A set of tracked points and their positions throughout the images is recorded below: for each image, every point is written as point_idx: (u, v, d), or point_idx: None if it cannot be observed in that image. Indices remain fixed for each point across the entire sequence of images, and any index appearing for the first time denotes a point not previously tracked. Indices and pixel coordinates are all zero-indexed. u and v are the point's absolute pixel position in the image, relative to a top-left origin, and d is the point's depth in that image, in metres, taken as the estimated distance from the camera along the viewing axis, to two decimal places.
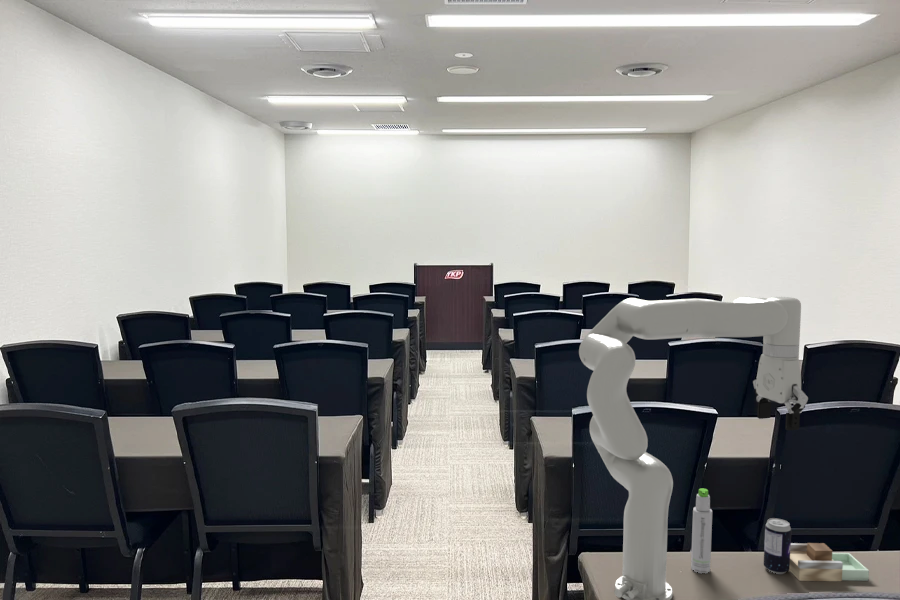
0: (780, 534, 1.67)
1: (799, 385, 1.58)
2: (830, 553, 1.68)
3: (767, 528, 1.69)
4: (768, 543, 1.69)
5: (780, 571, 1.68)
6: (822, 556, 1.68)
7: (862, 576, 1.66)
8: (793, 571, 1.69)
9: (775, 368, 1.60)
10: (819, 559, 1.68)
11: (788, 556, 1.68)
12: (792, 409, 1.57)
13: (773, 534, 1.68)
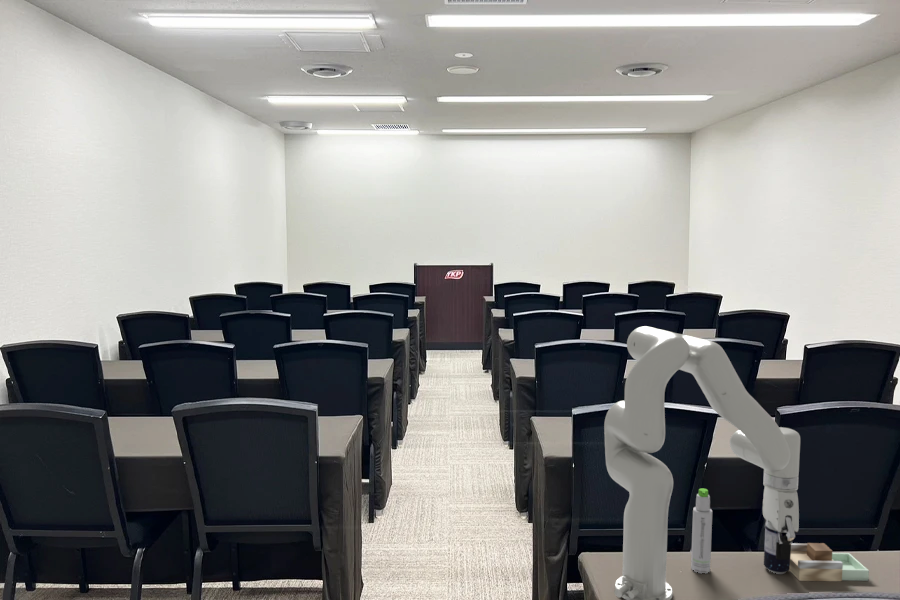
0: None
1: None
2: (830, 553, 1.68)
3: (767, 528, 1.69)
4: (768, 543, 1.69)
5: (780, 571, 1.68)
6: (822, 556, 1.68)
7: (862, 576, 1.66)
8: (793, 571, 1.69)
9: None
10: (819, 559, 1.68)
11: None
12: None
13: (774, 534, 1.68)
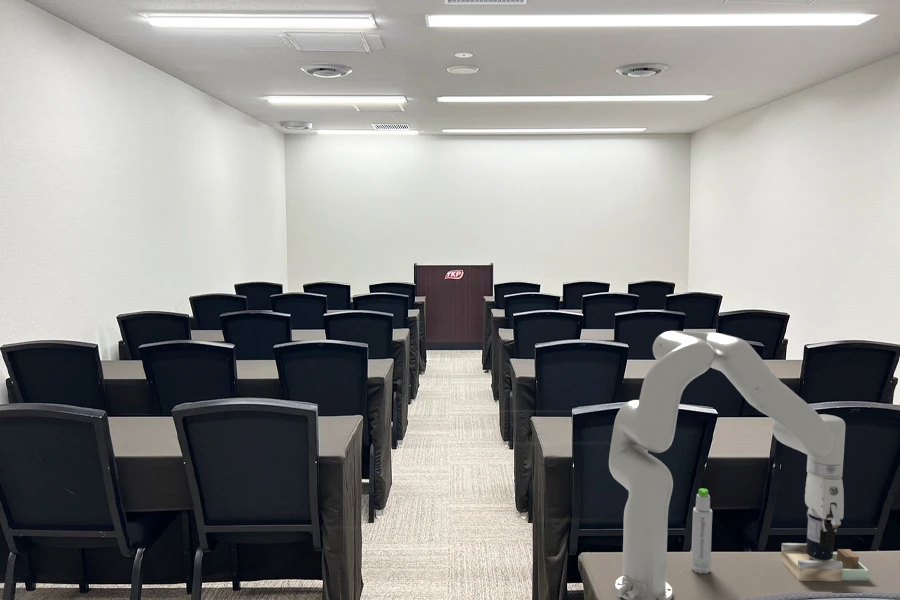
0: None
1: None
2: None
3: (811, 515, 1.69)
4: (812, 530, 1.68)
5: (824, 559, 1.67)
6: (852, 563, 1.68)
7: (862, 576, 1.66)
8: (793, 571, 1.69)
9: None
10: (848, 561, 1.68)
11: None
12: None
13: (818, 521, 1.67)
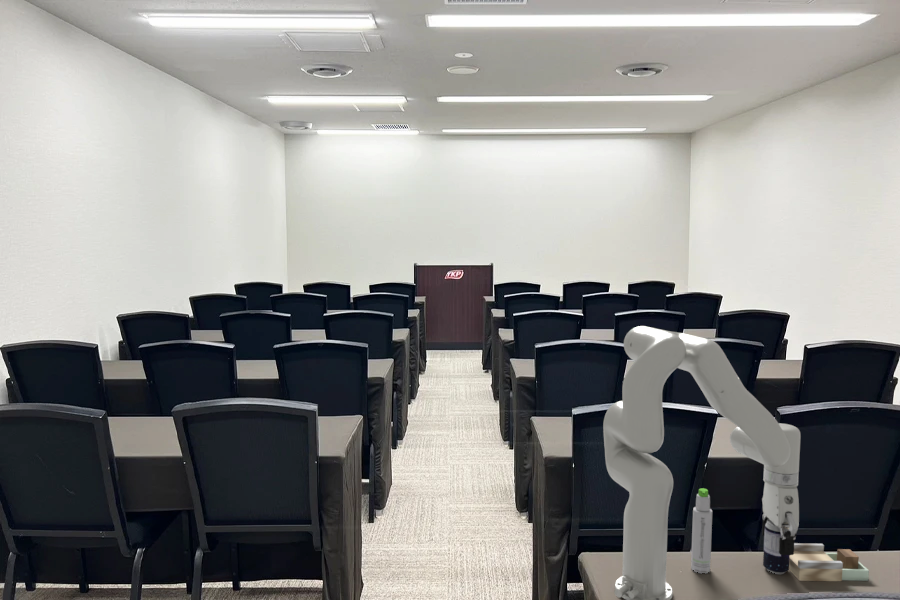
0: (779, 534, 1.67)
1: None
2: None
3: (766, 528, 1.69)
4: (768, 543, 1.69)
5: (780, 571, 1.68)
6: (852, 563, 1.68)
7: (862, 576, 1.66)
8: (793, 571, 1.69)
9: None
10: (848, 561, 1.68)
11: (787, 556, 1.68)
12: None
13: (773, 534, 1.68)
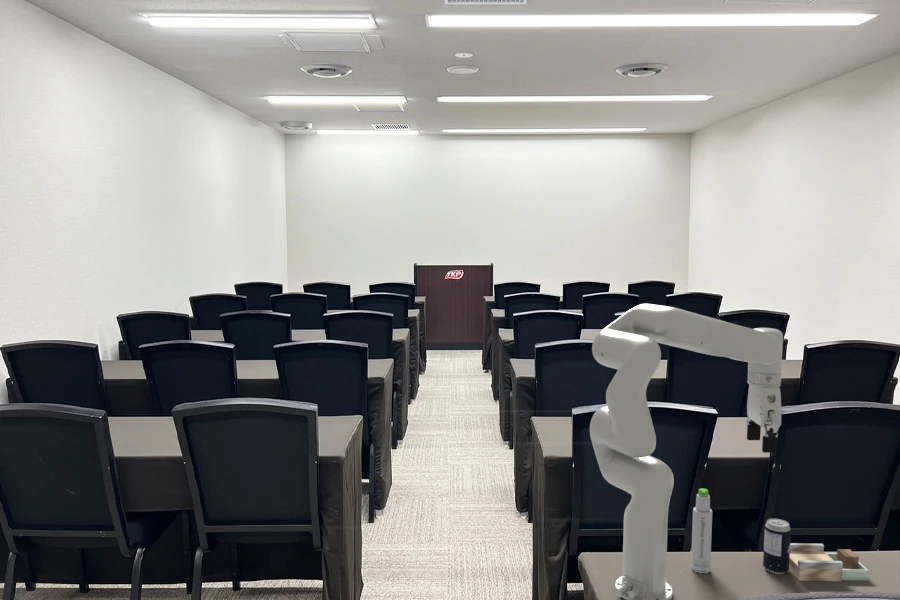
0: (780, 534, 1.67)
1: None
2: None
3: (766, 528, 1.69)
4: (768, 543, 1.69)
5: (780, 571, 1.68)
6: (852, 563, 1.68)
7: (862, 576, 1.66)
8: (793, 571, 1.69)
9: None
10: (848, 561, 1.68)
11: (788, 556, 1.68)
12: None
13: (773, 534, 1.68)
